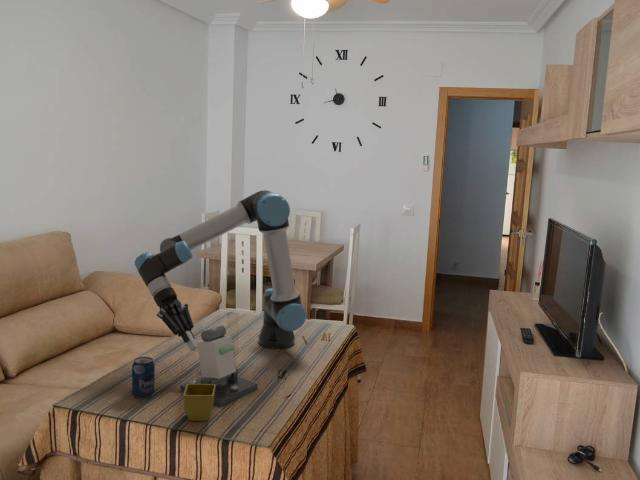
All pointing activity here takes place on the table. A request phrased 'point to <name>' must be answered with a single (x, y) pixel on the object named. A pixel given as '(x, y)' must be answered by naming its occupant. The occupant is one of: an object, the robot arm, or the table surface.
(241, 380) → the levelling base
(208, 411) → the flower pot
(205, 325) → the table surface
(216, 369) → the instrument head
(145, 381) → the soda can
